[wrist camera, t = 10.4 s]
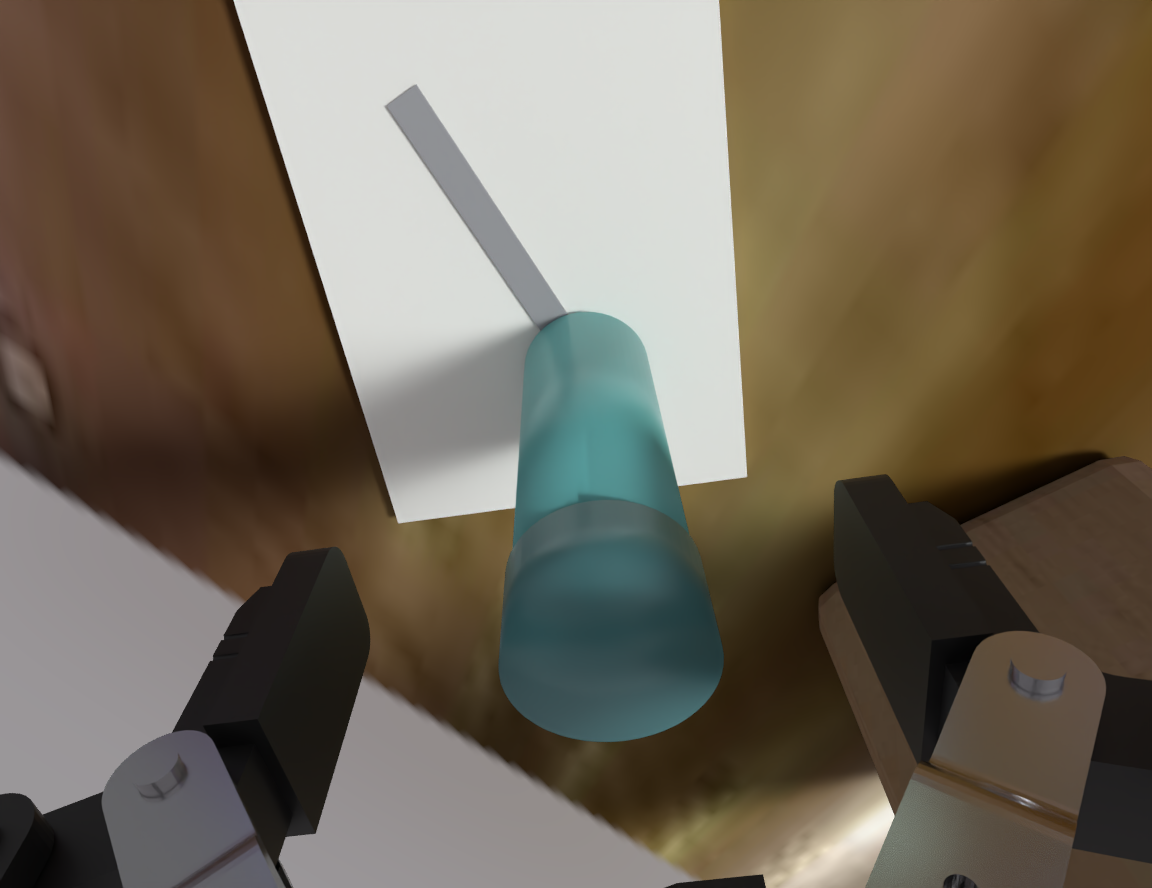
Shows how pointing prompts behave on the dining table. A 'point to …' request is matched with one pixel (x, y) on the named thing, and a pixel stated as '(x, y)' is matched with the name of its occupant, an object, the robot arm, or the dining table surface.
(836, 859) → the dining table surface
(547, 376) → the marker
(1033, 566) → the wooden block
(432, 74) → the pad
